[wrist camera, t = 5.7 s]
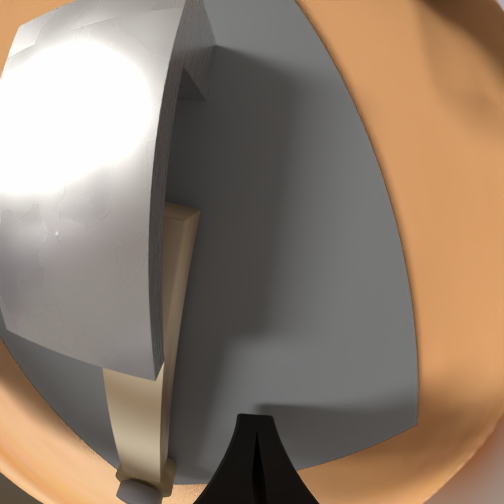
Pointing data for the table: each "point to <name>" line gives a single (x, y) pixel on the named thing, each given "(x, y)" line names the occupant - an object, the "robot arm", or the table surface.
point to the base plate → (269, 266)
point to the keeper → (94, 173)
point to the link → (160, 391)
